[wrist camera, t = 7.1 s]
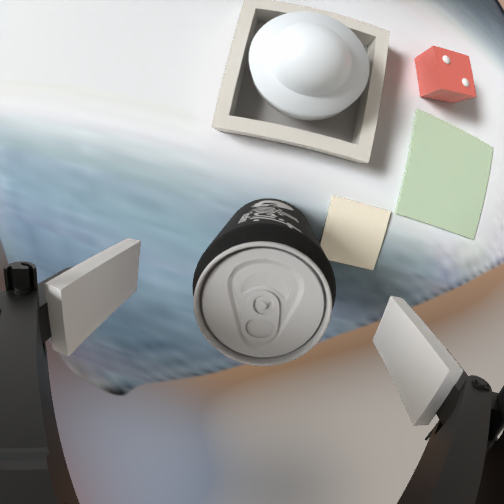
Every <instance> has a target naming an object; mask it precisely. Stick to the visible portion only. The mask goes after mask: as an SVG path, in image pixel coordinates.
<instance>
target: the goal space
mask: <svg viewBox="0 0 504 504" xmlns="http://www.w3.org/2000/svg"><path fill="white" fill-rule="evenodd" d="M492 153H493V147H491V146H489V145H488V144H486V143H484V142H483V141H481V140H479V139H477V138H476V137H474V136H472V135H470V134H468V133H467V132H465V131H463V130H461V129H459V128H457V127H455V126H453V125H451V124H449V123H447V122H445V121H443V120H441V119H439V118H437V117H435V116H432V115H430V114H428V113H426V112H424V111H421V110H419V109H416V114H415V121H414V127H413V133H412V138H411V144H410V149H409V154H408V159H407V164H406V169H405V173H404V178H403V182H402V186H401V191H400V195H399V199H398V203H397V206H396V210H395V213H396V214H399V215H403V216H406V217H409V218H412V219H415V220H418V221H421V222H424V223H427V224H430V225H433V226H436V227H439V228H442V229H445V230H448V231H451V232H454V233H456V234H459V235H462V236H465V237H467V238H470V239H473V240H474V236H475V233H476V229H477V226H478V222H479V218H480V214H481V210H482V206H483V202H484V197H485V193H486V188H487V183H488V178H489V172H490V166H491V160H492Z"/></svg>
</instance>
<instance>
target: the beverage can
mask: <svg viewBox="0 0 504 504" xmlns="http://www.w3.org/2000/svg"><path fill="white" fill-rule="evenodd" d="M335 296H336V284H335V277H334V273H333V270H332V267H331V265H330V263H329V261H328V259H327V257H326V255H325V253H324V251H323V249H322V248H321V246H320V244H319V242H318V240H317V238H316V237H315V235H314V233H313V231H312V229H311V228H310V226H309V224H308V222H307V220H306V219H305V217H304V216H303V215H302V213H301V212H300V211H299V210H298V209H296V208H295V207H294V206H292V205H291V204H289V203H287V202H284V201H281V200H278V199H259V200H255V201H252V202H250V203H248V204H246V205H245V206H243V207H242V208H240V209H239V210H238V211H237V212H236V213H235V214H234V216H233V217H232V218H231V219H230V221H229V222H228V223H227V224H226V226H225V227H224V228H223V229H222V231H221V232H220V233H219V234H218V235H217V237H216V238H215V239H214V240H213V242H212V243H211V244H210V245H209V247H208V248H207V249H206V251H205V252H204V253H203V255H202V256H201V258H200V260H199V262H198V264H197V267H196V270H195V273H194V278H193V297H194V300H193V301H194V313H195V318H196V321H197V324H198V326H199V328H200V330H201V332H202V333H203V335H204V337H205V338H206V339H207V340H208V341H209V343H210V344H211V345H212V346H213V347H214V348H216V349H217V350H218V351H219V352H221V353H222V354H224V355H225V356H227V357H229V358H231V359H233V360H236V361H238V362H241V363H245V364H249V365H256V366H271V365H278V364H282V363H287V362H289V361H291V360H294V359H297V358H298V357H300V356H302V355H304V354H305V353H307V352H308V351H309V350H310V349H312V348H313V347H314V346H315V345H316V344H317V343H318V342H319V340H320V339H321V338H322V336H323V335H324V333H325V331H326V329H327V327H328V325H329V322H330V319H331V313H332V309H333V306H334V302H335Z"/></svg>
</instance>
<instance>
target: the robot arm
mask: <svg viewBox="0 0 504 504" xmlns="http://www.w3.org/2000/svg"><path fill="white" fill-rule="evenodd" d="M140 244H141V241H139V240H134V239H130V238H127V239H125V240H123V241H121V242H119V243H117V244H115V245H113V246H111V247H109V248H107V249H106V250H104V251H102V252H100V253H98V254H96V255H94V256H92V257H91V258H89V259H87V260H85V261H83V262H81V263H80V264H78V265H76V266H74V267H70V268H66V269H64V270H62V271H60V272H58V273H57V274H55V275H53V276H51V277H49V278H48V279H46V280H44V281H42V282H41V283H39V284H37V272H36V266H35V265H34V264H32V263H29V262H14V263H11V264H8V265H7V266H5V268H4V277H5V285H6V292H5V291H0V504H80V503H79V501H78V498H77V496H76V493H75V490H74V487H73V484H72V481H71V478H70V475H69V471H68V468H67V465H66V461H65V457H64V454H63V450H62V446H61V442H60V438H59V433H58V428H57V424H56V419H55V413H54V408H53V401H52V395H51V389H50V380H49V372H48V362H47V350H46V345H45V341H46V340H48V339H49V338H50V337H51V340H52V346H53V350H55V351H57V352H59V353H62V354H64V355H66V356H68V357H69V356H70V355H71V353H72V352H73V351H74V350H75V349H76V348H77V347H78V346H79V345H80V344H81V343H82V342H83V341H84V340H85V339H86V338H87V337H88V336H89V335H90V334H91V333H92V332H93V331H94V330H96V329H97V328H98V327H99V326H100V325H101V324H102V323H103V322H104V321H105V320H106V319H107V318H108V317H109V316H110V315H111V314H112V313H113V312H114V311H115V310H116V309H117V308H118V307H119V306H120V305H121V304H122V303H123V302H125V301H126V300H127V299H128V298H129V297H130V296H131V295H132V294H133V293H134V292H135V291H136V290H137V280H138V266H139V254H140ZM373 342H374V344H375V346H376V348H377V350H378V352H379V354H380V356H381V358H382V360H383V361H384V364H385V365H386V368H387V370H388V372H389V374H390V376H391V378H392V380H393V382H394V384H395V386H396V388H397V391H398V392H399V395H400V397H401V399H402V401H403V403H404V405H405V408H406V410H407V412H408V414H409V416H410V418H411V421H412V423H413V425H414V426H417V425H428V424H429V423H430V422H431V420H432V419H433V417H434V416H435V415H436V414H437V416H438V418H439V421H438V423H437V424H436V425H435V427H434V428H433V429H432V431H431V432H430V433H429V434H428V436H427V437H426V438H425V440H427V439H428V438H430V439H429V441H428V443H427V446H426V448H425V451H424V453H423V455H422V457H421V459H420V461H419V464H418V465H417V467H416V470H415V472H414V474H413V475H412V477H411V480H410V481H409V483H408V485H407V487H406V489H405V491H404V492H403V494H402V496H401V498H400V499H399V501H398V503H397V504H504V430H503V428H504V386H503V388H502V389H501V391H500V392H499V393H495V392H492V390H491V387H490V385H489V384H488V383H487V382H486V381H485V380H484V379H482V378H480V377H478V376H473V375H471V376H468V375H467V374H466V372H465V371H464V370H463V369H462V367H461V366H460V365H459V364H458V363H457V362H456V360H455V359H454V357H452V355H451V354H450V352H449V351H448V350H447V349H446V348H445V347H444V346H443V344H442V343H441V342H440V341H439V340H438V338H437V337H436V336H435V335H434V334H433V333H432V332H431V330H430V329H429V328H428V327H427V325H426V324H425V323H424V322H423V321H422V320H421V319H420V317H419V316H418V315H417V314H416V313H415V312H414V311H413V309H412V308H411V307H410V306H409V305H408V304H407V303H406V302H405V300H404V299H403V298H400V297H395V296H390V298H389V301H388V304H387V306H386V309H385V311H384V314H383V317H382V319H381V321H380V324H379V326H378V329H377V331H376V333H375V336H374V338H373ZM502 430H503V433H502V435H501V436H500V438H499V439H498V438H497V436H498V435H499V434H500V432H501V431H502Z"/></svg>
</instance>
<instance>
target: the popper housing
mask: <svg viewBox="0 0 504 504" xmlns="http://www.w3.org/2000/svg"><path fill="white" fill-rule="evenodd" d="M299 11H307V12H315V13H320V14H324V15H327V16H329V17H332V18H334V19H336V20H338V21H340V22H341V23H343V24H344V25H346V26H347V27H348V28H349V29H350V30H352V31H353V32H354V34H355V35H356V36H357V37H358V38H359V40H360V41H361V43H362V44H363V46H364V48H365V50H366V53H367V56H368V60H369V77H368V82H367V84H366V87H365V89H364V90H363V92H362V94H361V95H360V96H359V97H358V99H357V100H355V101H354V102H353V103H352V104H351V105H349V106H348V107H347V108H346V109H344V110H343V111H341V112H340V113H338V114H337V115H334V116H332V117H330V118H326V119H322V120H313V121H309V120H300V119H295V118H292V117H289V116H286V115H284V114H282V113H280V112H278V111H276V110H275V109H274V108H272V107H271V106H270V105H269V104H268V103H267V102H265V100H264V99H263V98H262V97H261V95H260V94H259V92H258V91H257V89H256V87H255V84H254V81H253V78H252V74H251V70H250V66H249V50H250V46H251V43H252V40H253V38H254V37H255V35H256V33H257V32H258V31H259V29H260V28H261V27H262V26H263V25H265V24H266V23H267V22H269V21H270V20H272V19H274V18H275V17H278V16H280V15H283V14H286V13H291V12H299ZM389 33H390V31H387V30H385V29H382V28H379V27H376V26H374V25H371V24H368V23H365V22H362V21H359V20H356V19H352V18H349V17H346V16H342V15H339V14H335V13H331V12H327V11H323V10H319V9H315V8H310V7H306V6H301V5H296V4H290V3H285V2H279V1H272V0H244V2H243V6H242V9H241V12H240V16H239V19H238V23H237V26H236V30H235V33H234V37H233V41H232V44H231V48H230V52H229V56H228V59H227V63H226V67H225V71H224V75H223V79H222V83H221V88H220V92H219V96H218V100H217V105H216V109H215V114H214V118H213V123H212V127H213V128H214V129H216V130H218V131H222V132H228V133H234V134H240V135H245V136H251V137H256V138H261V139H266V140H271V141H275V142H280V143H284V144H289V145H293V146H298V147H302V148H306V149H310V150H314V151H318V152H322V153H325V154H329V155H333V156H337V157H340V158H344V159H347V160H351V161H354V162H357V163H369V160H370V155H371V150H372V145H373V140H374V135H375V130H376V125H377V119H378V114H379V108H380V102H381V96H382V89H383V83H384V76H385V68H386V61H387V52H388V43H389Z"/></svg>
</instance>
